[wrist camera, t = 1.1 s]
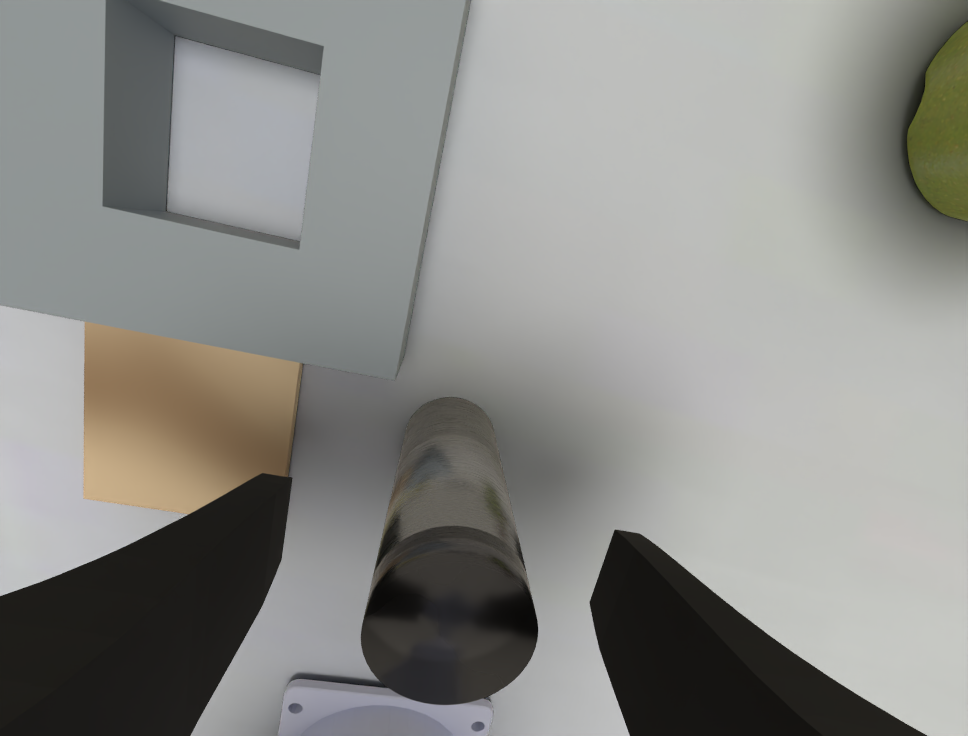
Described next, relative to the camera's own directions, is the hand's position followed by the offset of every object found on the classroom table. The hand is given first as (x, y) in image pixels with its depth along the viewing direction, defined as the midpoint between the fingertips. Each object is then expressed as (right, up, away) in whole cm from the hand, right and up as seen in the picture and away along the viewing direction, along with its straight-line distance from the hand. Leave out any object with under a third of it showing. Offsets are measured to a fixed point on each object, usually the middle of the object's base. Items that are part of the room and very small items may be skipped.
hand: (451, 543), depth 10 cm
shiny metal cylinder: (0, +1, +5) cm, 6 cm away
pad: (-8, +2, +5) cm, 10 cm away
